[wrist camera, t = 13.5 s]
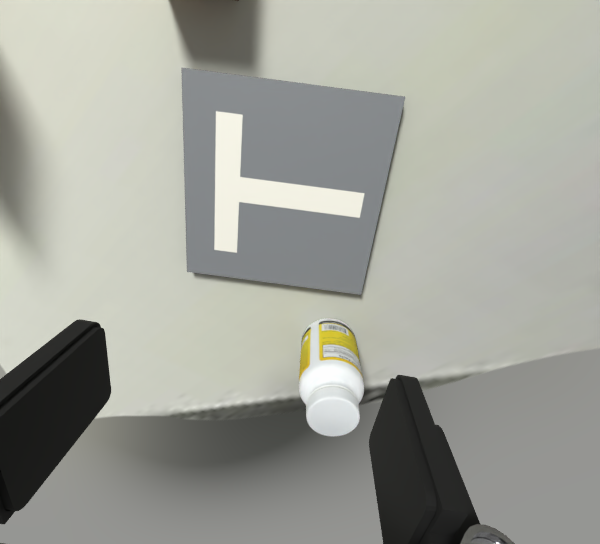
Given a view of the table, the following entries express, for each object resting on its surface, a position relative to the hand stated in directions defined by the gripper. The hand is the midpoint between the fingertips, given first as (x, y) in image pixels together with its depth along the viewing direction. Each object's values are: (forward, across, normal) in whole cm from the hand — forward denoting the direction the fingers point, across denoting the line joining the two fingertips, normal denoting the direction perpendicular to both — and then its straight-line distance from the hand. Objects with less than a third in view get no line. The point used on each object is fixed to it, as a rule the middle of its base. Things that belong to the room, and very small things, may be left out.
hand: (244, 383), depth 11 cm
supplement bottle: (+20, -5, +11) cm, 23 cm away
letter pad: (+19, +1, -2) cm, 19 cm away
